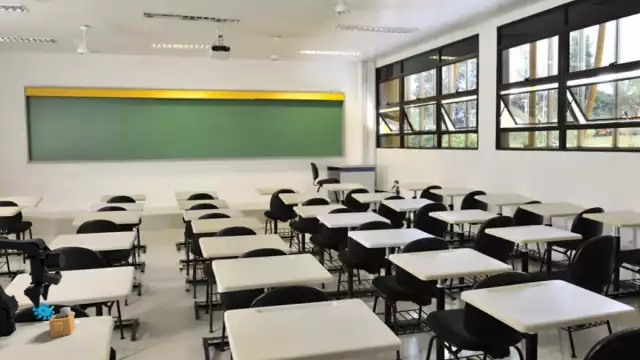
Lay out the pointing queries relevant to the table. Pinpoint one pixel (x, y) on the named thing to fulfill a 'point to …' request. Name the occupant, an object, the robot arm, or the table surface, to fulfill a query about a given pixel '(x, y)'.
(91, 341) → the table surface
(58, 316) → the wedge
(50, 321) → the tan open box
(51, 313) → the gear
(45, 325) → the table surface
